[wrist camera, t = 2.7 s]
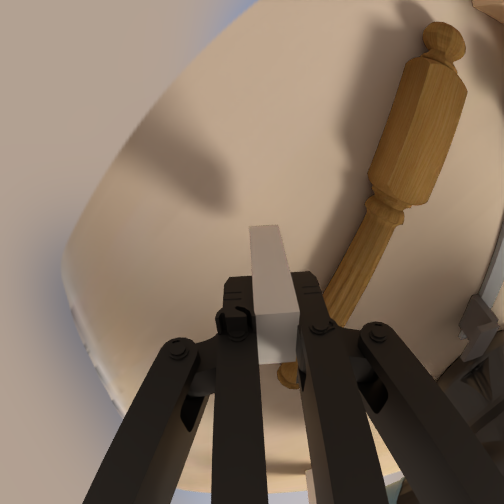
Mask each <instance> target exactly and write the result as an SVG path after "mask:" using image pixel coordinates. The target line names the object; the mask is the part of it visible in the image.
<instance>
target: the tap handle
mask: <svg viewBox="0 0 504 504" xmlns="http://www.w3.org/2000/svg"><path fill="white" fill-rule="evenodd" d="M423 41H424V44H425V45H426V47H427V49H428V50H429V51H428V52H427V53H423V54H422V55H421V56H420V57H417V58H413V59H411V60H409V61H408V62H407V63H406V65H405V68H404V71H403V75H402V78H401V81H400V84H399V87H398V90H397V94H396V97H395V100H394V103H393V106H392V108H391V111H390V114H389V117H388V120H387V123H386V126H385V128H384V131H383V134H382V137H381V139H380V142H379V145H378V147H377V150H376V153H375V155H374V158H373V160H372V163H371V166H370V168H369V171H368V173H367V174H368V178H369V180H370V182H371V184H372V185H373V186H372V189H373V191H374V194H375V195H373V196H371V197H369V198H368V199H367V201H366V202H365V204H364V205H365V206H366V208H367V213H366V215H365V217H364V219H363V221H362V223H361V225H360V227H359V229H358V231H357V233H356V235H355V237H354V239H353V241H352V243H351V244H350V246H349V248H348V250H347V252H346V254H345V256H344V258H343V259H342V261H341V263H340V265H339V267H338V269H337V270H336V272H335V274H334V276H333V278H332V279H331V281H330V283H329V285H328V286H327V288H326V290H325V292H324V293H323V298H324V301H325V304H326V307H327V310H328V313H329V316H330V318H332V319H333V320H335V321H336V323H337V324H338V326H341V327H343V328H344V326H345V324H346V322H347V321H348V319H349V317H350V315H351V314H352V312H353V310H354V308H355V307H356V305H357V303H358V301H359V299H360V298H361V296H362V294H363V292H364V290H365V288H366V286H367V284H368V283H369V281H370V279H371V277H372V275H373V273H374V271H375V269H376V267H377V265H378V263H379V261H380V259H381V257H382V255H383V253H384V250H385V248H386V246H387V244H388V242H389V240H390V238H391V235H392V233H393V231H394V229H395V227H396V226H397V225H403V222H404V212H403V210H404V209H406V208H411V206H412V205H422V204H425V203H426V202H427V201H428V199H429V197H430V195H431V192H432V190H433V188H434V185H435V183H436V181H437V178H438V176H439V174H440V171H441V169H442V166H443V164H444V161H445V159H446V156H447V153H448V151H449V148H450V145H451V143H452V140H453V137H454V134H455V131H456V128H457V125H458V122H459V119H460V116H461V113H462V109H463V106H464V103H465V99H466V96H467V89H466V87H465V85H464V83H463V82H462V80H461V79H460V77H459V76H458V75H457V70H456V68H455V66H454V65H453V62H454V61H457V60H459V59H461V58H462V57H463V56H464V54H465V51H466V46H465V42H464V40H463V37H462V35H461V34H460V32H459V31H458V30H457V29H455V28H454V27H453V26H451V25H449V24H447V23H444V22H432V23H431V24H429V25H428V26H427V27H426V29H425V30H424V32H423ZM297 368H298V362H297V356H296V362H285V363H282V364H281V366H280V367H279V369H278V370H277V376H278V380H279V381H280V382H281V384H282V385H284V386H285V387H287V388H289V389H299V388H300V387H299V383H297V384H296V377H297Z"/></svg>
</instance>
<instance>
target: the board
mask: <svg viewBox="0 0 504 504" xmlns="http://www.w3.org/2000/svg"><path fill="white" fill-rule="evenodd" d="M472 3H473V7H474V8H476V9H478V10H480V11H482V12H484V13H485V14H487V15H489V16H491V17H492V18H494V19H496V20H497V21H499V22H501V23H502V24H504V0H472ZM503 281H504V221H503V225H502V228H501V232H500V235H499V239H498V242H497V245H496V248H495V251H494V254H493V257H492V260H491V263H490V266H489V268H488V271H487V274H486V276H485V279H484V281H483V284H482V286H481V289H480V291H479V294H477V295H472V297H471V299H470V301H469V304H468V306H467V308H466V310H465V313H464V315H463V317H462V319H461V321H460V323H459V326H460V328H461V329H462V330H461V332H460V334H459V336H458V337H459V338H460V340H462V339H466V338H467V339H468V340H469V342H468V344H467V346H466V348H465V349H464V351H463V353H462V354H461V356H460V357H461V359H462V361H463V362H467V361H469V360H472V359H475V358H477V357H480V356H482V355H483V354H484V352H485V351H486V349H487V347H488V346H489V344H490V342H491V341H492V339H493V337H494V336H495V334H496V332H497V330H498V329H499V327H500V326H499V325H498V323H497V322H498V318H497V317H496V316H495V314H494V313H493V312H492V311H491V308H492V306H493V304H494V302H495V299H496V297H497V295H498V293H499V290H500V288H501V286H502V283H503Z"/></svg>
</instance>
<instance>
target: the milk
mask: <svg viewBox="0 0 504 504" xmlns="http://www.w3.org/2000/svg"><path fill="white" fill-rule="evenodd" d="M305 473H306V481H307V490H308V498H309V504H317V503H316V495H315V488H314V481H313V473H312V469H309V470H305Z"/></svg>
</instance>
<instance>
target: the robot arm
mask: <svg viewBox="0 0 504 504" xmlns="http://www.w3.org/2000/svg"><path fill="white" fill-rule="evenodd" d="M249 231H250V249H251V266H252V276H240V277H229V279H228V280H227V281H226V283H225V284H224V296H223V308H221V309H220V310H219V311H218V312H217V314H216V317H215V321H216V326H217V331H218V333H217V334H216V335H215V336H214V337H212V338H211V339H209V340H206V341H203V342H199V343H194V342H193V341H192V340H190V339H188V338H175V339H171V340H170V341H168V342H166V343H165V344H164V345H163V347H162V348H161V349H160V351H159V353H158V355H157V357H156V359H155V361H154V362H153V364H152V366H151V368H150V370H149V372H148V374H147V375H146V377H145V379H144V381H143V383H142V385H141V387H140V389H139V390H138V392H137V394H136V396H135V398H134V400H133V402H132V404H131V406H130V408H129V410H128V412H127V413H126V415H125V417H124V419H123V421H122V423H121V425H120V427H119V429H118V431H117V433H116V435H115V437H114V439H113V441H112V443H111V445H110V447H109V449H108V451H107V453H106V455H105V457H104V459H103V461H102V463H101V465H100V468H99V470H98V472H97V474H96V476H95V478H94V480H93V482H92V484H91V486H90V489H89V491H88V493H87V495H86V497H85V499H84V501H83V503H82V504H170V503H171V500H172V497H173V494H174V492H175V489H176V486H177V484H178V481H179V478H180V476H181V473H182V470H183V467H184V465H185V462H186V459H187V457H188V454H189V451H190V448H191V446H192V443H193V440H194V437H195V435H196V432H197V429H198V426H199V424H200V421H201V418H202V415H203V413H204V410H205V407H206V404H207V401H208V399H209V396H210V394H213V393H215V401H214V423H213V449H212V486H211V504H268V490H267V476H266V461H265V447H264V432H263V417H262V402H261V388H260V373H259V364H273V363H285V362H296V356H297V362H298V368H297V377H296V384H297V383H299V387H300V394H301V400H302V406H303V412H304V419H305V425H306V432H307V439H308V445H309V452H310V459H311V466H312V473H313V481H314V488H315V495H316V503H317V504H504V330H503V331H499V332H496V334H495V336H494V337H493V339H492V341H491V342H490V344H489V346H488V347H487V349H486V351H485V352H484V354H483V355H482V356H480V357H477V358H475V359H472V360H469V361H467V362H463V361H462V359H461V357H460V358H459V359H458V360H456V361H455V362H454V363H453V364H452V365H451V366H450V367H449V368H448V369H447V370H446V371H445V373H444V374H443V375H442V376H441V377H440V379H439V380H438V381H437V383H436V382H435V380H434V379H433V378H432V376H431V375H430V374H429V373H428V371H427V370H426V369H425V368H424V366H423V365H422V364H421V363H420V361H419V360H418V359H417V358H416V357H415V355H414V354H413V353H412V352H411V350H410V349H409V348H408V347H407V346H406V344H405V343H404V342H403V341H402V340H401V338H400V337H399V336H398V335H397V334H396V332H395V331H394V330H393V329H392V328H391V327H390V326H388V325H387V324H384V323H382V322H370V323H367V324H366V325H364V326H363V328H362V329H361V330H353V329H347V328H343V327H341V326H338V324H337V323H336V321H335V320H333V319H332V318H330V316H329V313H328V310H327V307H326V304H325V301H324V298H323V295H322V293H321V290H320V287H319V284H318V281H317V278H316V277H315V276H314V275H313V274H312V273H311V272H310V271H305V272H290V269H289V265H288V261H287V257H286V253H285V249H284V245H283V241H282V237H281V233H280V229H279V226H278V225H263V226H249ZM366 413H367V414H368V416H369V418H370V419H371V421H372V423H373V424H374V426H375V428H376V429H377V431H378V433H379V434H380V436H381V438H382V439H383V441H384V443H385V444H386V446H387V448H388V449H389V451H390V453H391V454H392V456H393V458H394V459H395V461H396V463H397V464H398V466H399V468H400V470H401V471H402V473H403V475H404V476H405V477H403V478H401V480H399V481H397V482H395V483H392V484H390V485H387V486H385V483H384V479H383V475H382V471H381V467H380V463H379V459H378V455H377V451H376V447H375V443H374V440H373V436H372V432H371V429H370V425H369V422H368V418H367V415H366Z"/></svg>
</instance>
